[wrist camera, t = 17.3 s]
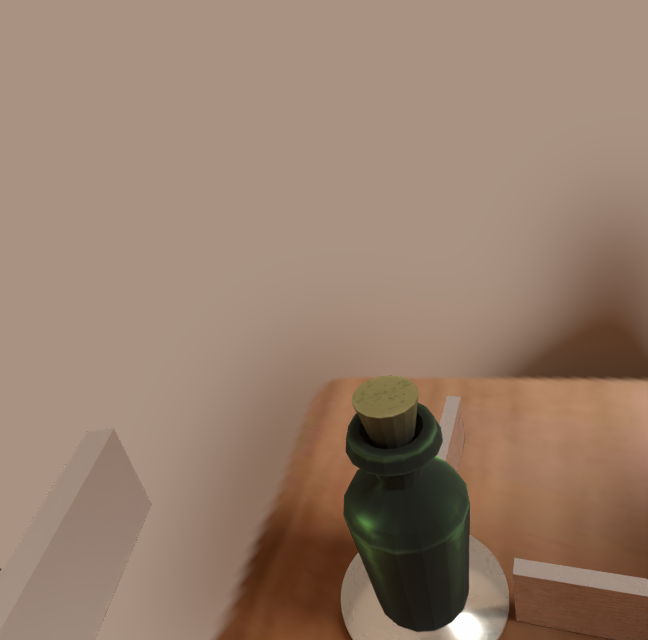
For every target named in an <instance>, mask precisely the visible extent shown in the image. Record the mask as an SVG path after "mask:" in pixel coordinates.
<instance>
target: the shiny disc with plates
mask: <svg viewBox="0 0 648 640" xmlns="http://www.w3.org/2000/svg"><path fill="white" fill-rule="evenodd" d="M440 427H441V431H442V437H443V443H442V445H441V447H440V450H439V452H438V455H437V457H439V458H441V459H443V460H444V461H446V462H447V463H449V464H450V465H451V466H452V467H453V468H454V469H455V470H456V472H457V473H458V470H459V466H460V461H461V457H462V452H463V447H464V443H465V431H464V422H463V413H462V404H461V397H454V396H447V399H446V403H445V406H444V410H443V414H442V418H441V421H440ZM513 583H514V597H515V612H516V621H520V622H525V623H530V624H535V625H540V626H545V627H550V628H556V629H561V630H566V631H571V632H576V633H581V634H586V635H591V636H596V637H602V638H607V639H612V640H648V579H645V578H639V577H632V576H626V575H620V574H613V573H607V572H601V571H594V570H588V569H581V568H575V567H569V566H562V565H556V564H550V563H543V562H537V561H530V560H524V559H518V558H514V568H513ZM509 605H510V603H509V590H508V585H507V581H506V578H505V575H504V572H503V570H502V568H501V566H500V564H499V563H498V561H497V560H496V558H495V557H494V555H493V554H492V553H491V552H490V551H489V550H488V549H487V548H486V547H485V546H484V545H483V544H482V543H481V542H479V541H478V540H477V539H475V538H474V537H472V536H471V535H469V594H468V597H467V601H466V604H465V608H464V610H463V611H462V612H461V613H460V614H459V615H458V616H457V618H456V619H455V620H454V621H453V622H452V623H450V624H448V625H446V626H444V627H442V628H439V629H437V630H434V631H418V632H416V631H413V630H410V629H407V628H404V627H401V626H398V625H397V624H396V623H395V622H393V621H392V620H391V619H390V618H389V617H388V616H386V615H385V613H384V611H383V609H382V607H381V605H380V603H379V601H378V599H377V596H376V594H375V591H374V589H373V586H372V584H371V582H370V579H369V577H368V574H367V572H366V569H365V567H364V564H363V562H362V559H361V557H360V554H359V552H358V553H357V555H356V556H355V557H354V559H353V560H352V562H351V563H350V565H349V567H348V569H347V571H346V573H345V577H344V580H343V583H342V589H341V610H342V615H343V619H344V622H345V625H346V628H347V630H348V633H349V635H350V637H351V638H352V640H500V638H501V637H502V635H503V632H504V630H505V627H506V625H507V620H508V616H509Z"/></svg>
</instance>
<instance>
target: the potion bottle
mask: <svg viewBox="0 0 648 640" xmlns="http://www.w3.org/2000/svg"><path fill="white" fill-rule="evenodd" d="M352 404H353V406H354V408H355V410H356V412H357V414H355V416H354V417H353V419H352V421H351V422H350V424H349V426H348V432H347V437H346V453H347V455H348V457H349V458H350V460H351V462H352V464H354V465H355V466H357V467H358V468H360V469H359V470H358V471H357V472H356V474H355V476H354V478H353V480H352V481H351V483H350V485H349V487H348V489H347V491H346V493H345V495H344V514H343V515H344V517H345V520H346V522H347V525H348V527H349V530H350V532H351V535H352V537H353V540H354V542H355V545H356V547H357V550H358V552H359V554H360V557H361V559H362V562H363V564H364V567H365V569H366V572H367V574H368V577H369V579H370V582H371V584H372V586H373V589H374V591H375V594H376V596H377V599H378V601H379V603H380V605H381V607H382V609H383V611H384V613H385V615H386V616H388V617H389V618H390V619H391V620H392V621H393V622H395V623H396V624H397V625H398V626H401V627H404V628H407V629H410V630H413V631H416V632H418V631H434V630H437V629H439V628H442V627H444V626H446V625H448V624H450V623H452V622H453V621H454V620H455V619H456V618H457V616H458V615H459V614H460V613H461V612H462V611H463V610H464V608H465V604H466V601H467V597H468V594H469V534H470V501H469V496H468V491H467V485H466V483H465V482H464V481H463V479H462V478H461V477H460V476H459V474H458V473H457V472H456V470H455V469H454V468H453V467H452V466H451V465H450V464H449V463H447V462H446V461H444V460H443V459H441V458H439V457H437V455H438V452H439V450H440V447H441V445H442V443H443V437H442V431H441V427H440V425H439V424H438V422H437V421H436V419H435V417H434V416H433V415H432V413H431V412H430V411H429V410H428V409H427V408H426V406H424V405H422V404H420V403H418V389H417V387H416V386H415V384H414V383H413V382H412V381H410V380H408V379H406V378H404V377H400V376H392V375H389V376H381V377H376V378H374V379H371V380H369V381H366V382H365V383H364V384H362V385H361V386H359V387H358V388H357V390H356V391H355V393H354V394H353V403H352Z"/></svg>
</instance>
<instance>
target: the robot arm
mask: <svg viewBox="0 0 648 640" xmlns="http://www.w3.org/2000/svg"><path fill="white" fill-rule="evenodd" d="M150 507H151V502H150V500H149V498H148V496H147V494H146V492H145V490H144V488H143V486H142V484H141V482H140V480H139V478H138V476H137V474H136V472H135V470H134V468H133V466H132V464H131V462H130V460H129V458H128V456H127V454H126V452H125V450H124V448H123V446H122V444H121V442H120V440H119V438H118V436H117V434H116V432H115V430H114V429H106V430H96V431H87V432H86V433H85V434H84V436H83V438H82V439H81V441H80V443H79V444H78V446H77V448H76V449H75V451H74V452H73V454H72V456H71V457H70V459H69V460H68V462H67V464H66V465H65V467H64V469H63V470H62V472H61V473H60V475H59V477H58V478H57V480H56V482H55V483H54V485H53V486H52V488H51V490H50V491H49V493H48V494H47V496H46V498H45V499H44V501H43V503H42V504H41V506H40V507H39V509H38V511H37V512H36V514H35V516H34V517H33V519H32V521H31V522H30V524H29V525H28V527H27V528H26V530H25V532H24V533H23V535H22V537H21V538H20V540H19V541H18V543H17V545H16V546H15V548H14V550H13V551H12V553H11V554H10V556H9V558H8V559H7V561H6V563H5V565H4V566H3V567H2V569H0V640H95V638H96V636H97V634H98V631H99V628H100V626H101V624H102V622H103V619H104V617H105V615H106V612H107V610H108V607H109V605H110V602H111V600H112V597H113V595H114V593H115V591H116V588H117V586H118V583H119V581H120V579H121V576H122V574H123V571H124V569H125V567H126V564H127V562H128V559H129V557H130V555H131V552H132V550H133V547H134V545H135V543H136V540H137V538H138V535H139V533H140V530H141V528H142V526H143V523H144V521H145V519H146V516H147V513H148V511H149V509H150Z"/></svg>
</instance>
